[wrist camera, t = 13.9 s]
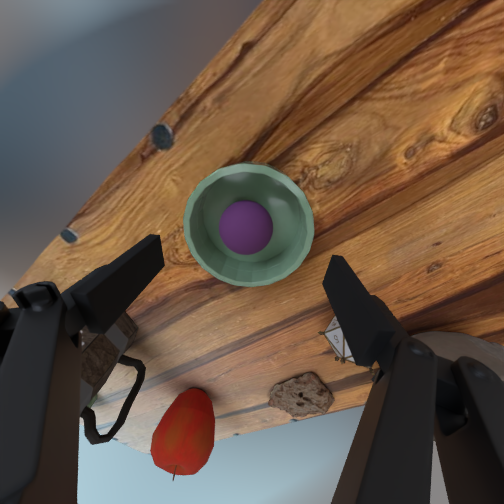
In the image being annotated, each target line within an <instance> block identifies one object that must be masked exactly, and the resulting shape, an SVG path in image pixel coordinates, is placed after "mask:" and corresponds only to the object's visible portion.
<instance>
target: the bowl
mask: <svg viewBox="0 0 504 504" xmlns="http://www.w3.org/2000/svg"><path fill="white" fill-rule="evenodd" d="M410 337H413V338H415V339H418V340H420V341H422V342H423V343H425V344H426V345H427V346H429V347H430V348H431V349H432V350H433V351H434V353H435V354H436V355H438V356H440V357H443V358H446V359H449V360H451V361H454V362H455V361H456V360H457V359H458V358H459V357H460V356H467V357H471V358H474V359H476V360H478V361H480V362H482V363H483V364H485V365H486V366H488V367H489V368H490V369H491V370H493V371H494V372H495V373H496V374H497V375H498V376H499V377H500V379H501V380H502V381H503V383H504V346H502V345H500V344H498V343H495V342H487V341H485V340H483V339H480V338H477V337H474V336H471V335H468V334H464V333H457V332H443V331H430V332H423V333H418V334H415V335H412V336H410ZM433 441H435V437H434V436H433Z"/></svg>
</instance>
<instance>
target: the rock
mask: <svg viewBox="0 0 504 504" xmlns="http://www.w3.org/2000/svg"><path fill="white" fill-rule="evenodd" d="M334 401H335V400H334V398H333V396H332V394H331V393H329V389H326V388H325V386H324V385H323V383H322V382H321V381H320V380H319V378H318V376H316V375H315V374H313V373H312V372H309V373H306V374H304V375H303V377H301V376H300V377H299V378H298V379H295V378H292V379H291V380H288V381H286V382H285V383H282V384H277V385H275V386H274V389H273V391H272V392H271V396H270V400H269V402H268V405H269V406H271V407H277V408H280V410H285V411H286V412H287V413H289V414H291V416H292V417H305V416H307V414H317V413H322V414H325V413H326V412H327V411H328V409H329V407H330V406H331V405H332V404H333V402H334Z"/></svg>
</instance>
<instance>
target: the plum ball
mask: <svg viewBox="0 0 504 504" xmlns="http://www.w3.org/2000/svg"><path fill="white" fill-rule="evenodd" d="M219 234H220V237H221V239H222V241H223V243H224V244H225V246H226V247H227V248H228V249H230V250H231V251H233V252H235V253H237V254H241V255H252V254H255V253H257V252H259V251H261V250H262V249H264V248H265V247H266V246H267V244H268V243H269V242H270V240H271V237H272V234H273V221H272V218H271V216H270V214H269V212H268V211H267V210H266V209H265V208H264V207H263V206H262V205H260V204H259V203H257V202H254V201H250V200H242V201H238V202H235V203H233V204H231V205H230V206H229V207H228V208H226V210H225V211H224V212H223V214H222V216H221V218H220V222H219Z"/></svg>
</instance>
